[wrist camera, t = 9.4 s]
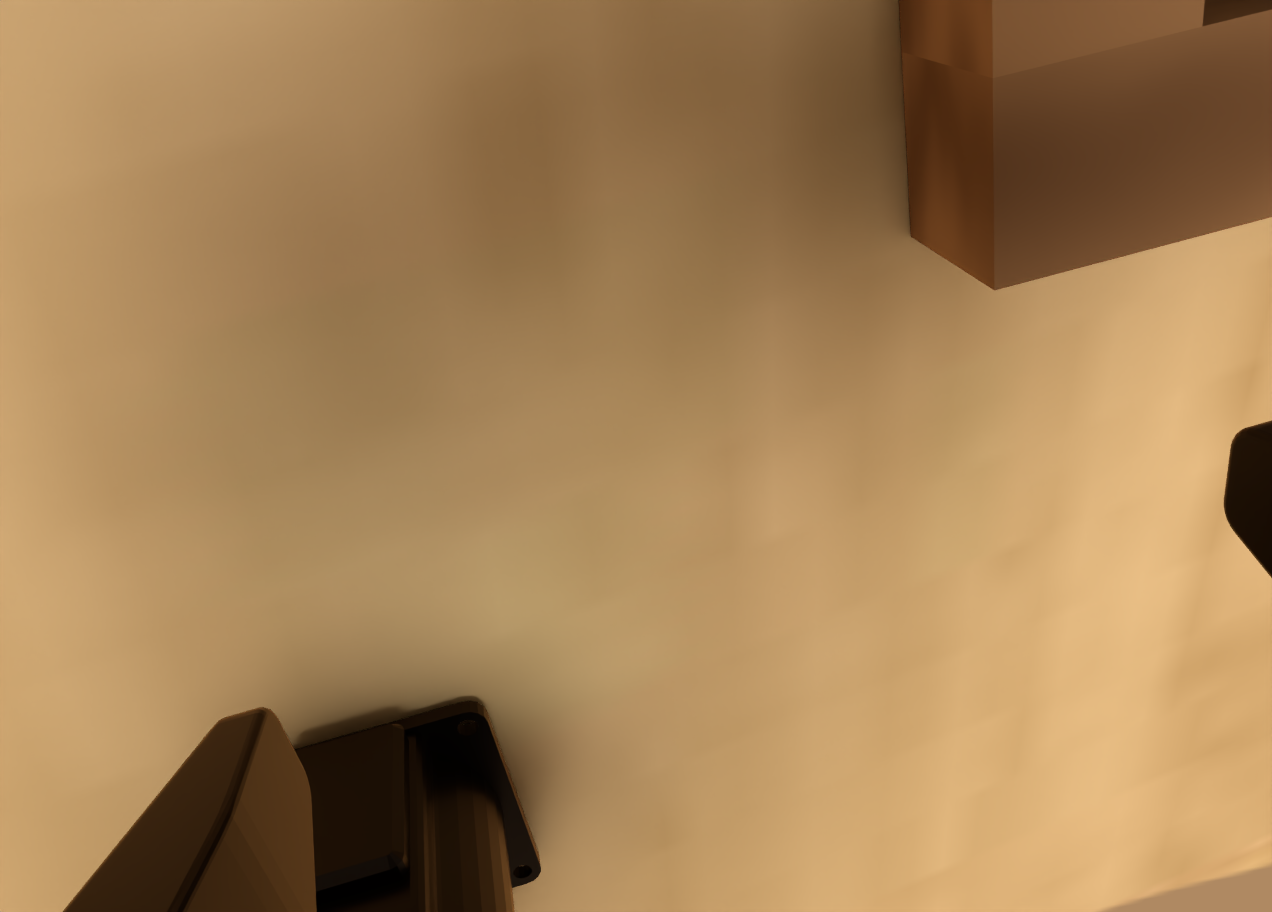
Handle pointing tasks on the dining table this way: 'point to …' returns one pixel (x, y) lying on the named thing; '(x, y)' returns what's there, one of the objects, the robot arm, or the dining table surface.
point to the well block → (1082, 127)
